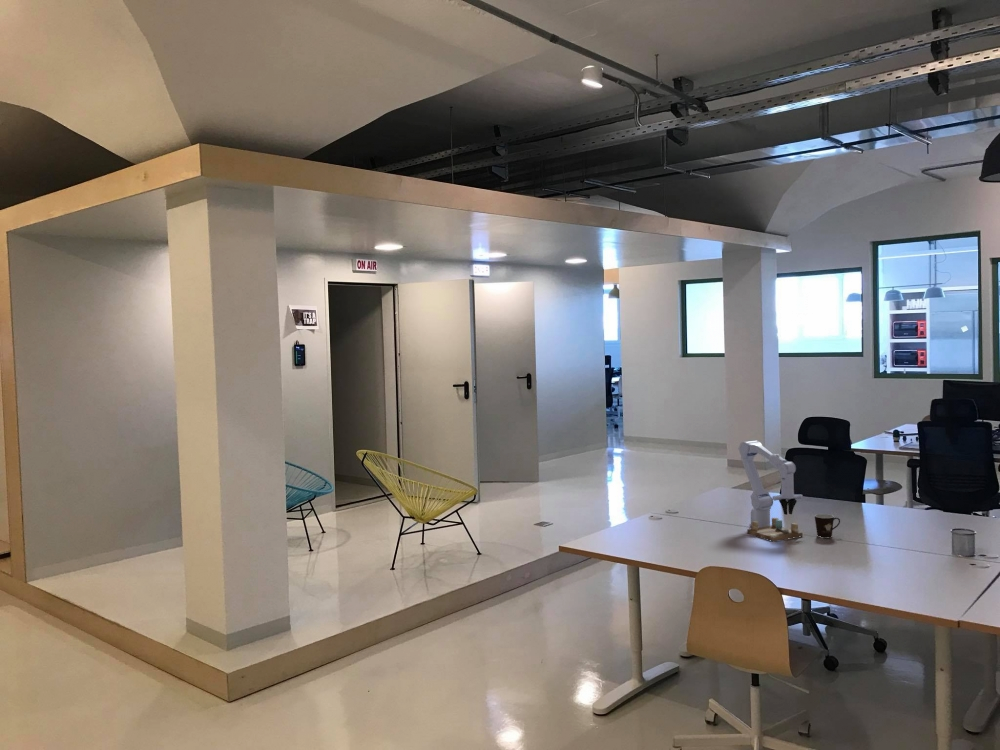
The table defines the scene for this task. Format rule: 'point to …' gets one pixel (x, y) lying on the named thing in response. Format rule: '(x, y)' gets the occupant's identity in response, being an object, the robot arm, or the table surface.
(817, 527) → the coffee mug
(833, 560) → the table surface
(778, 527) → the folding leg
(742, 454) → the robot arm
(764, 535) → the stool seat
